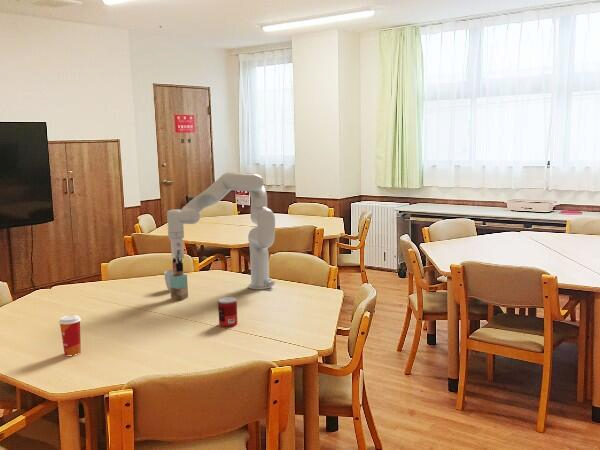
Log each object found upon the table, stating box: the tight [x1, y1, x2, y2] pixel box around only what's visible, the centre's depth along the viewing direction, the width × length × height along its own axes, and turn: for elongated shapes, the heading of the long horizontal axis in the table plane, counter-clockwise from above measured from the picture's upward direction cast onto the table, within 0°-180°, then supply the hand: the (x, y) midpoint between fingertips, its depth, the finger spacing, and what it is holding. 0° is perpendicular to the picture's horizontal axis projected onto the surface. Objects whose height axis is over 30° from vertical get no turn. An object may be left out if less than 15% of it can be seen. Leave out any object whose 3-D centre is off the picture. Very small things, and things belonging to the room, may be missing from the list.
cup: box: [163, 269, 173, 292], centre depth 315 cm, size 8×8×10 cm
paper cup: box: [58, 314, 82, 356], centre depth 225 cm, size 8×8×14 cm
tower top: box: [170, 273, 189, 289], centre depth 298 cm, size 6×6×6 cm
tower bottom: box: [170, 287, 189, 302], centre depth 299 cm, size 6×6×6 cm
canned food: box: [217, 296, 238, 328], centre depth 256 cm, size 8×8×11 cm
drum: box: [172, 262, 185, 276], centre depth 297 cm, size 5×5×6 cm
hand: (178, 269), depth 297 cm, fingers open, 9 cm apart
